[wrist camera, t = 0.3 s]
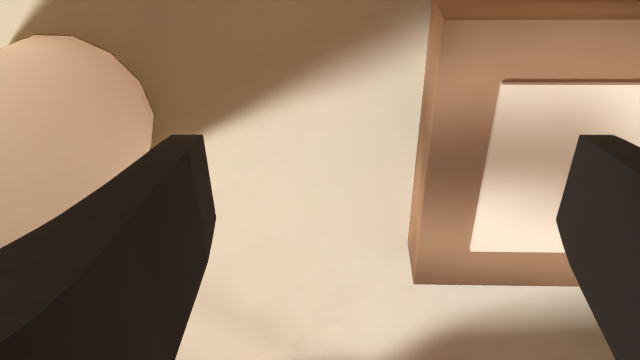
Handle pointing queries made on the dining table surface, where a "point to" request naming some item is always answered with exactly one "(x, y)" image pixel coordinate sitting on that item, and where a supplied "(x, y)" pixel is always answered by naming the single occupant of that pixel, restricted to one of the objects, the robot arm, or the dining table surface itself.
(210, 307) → the dining table surface
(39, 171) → the foam cup
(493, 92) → the walnut base
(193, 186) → the robot arm
